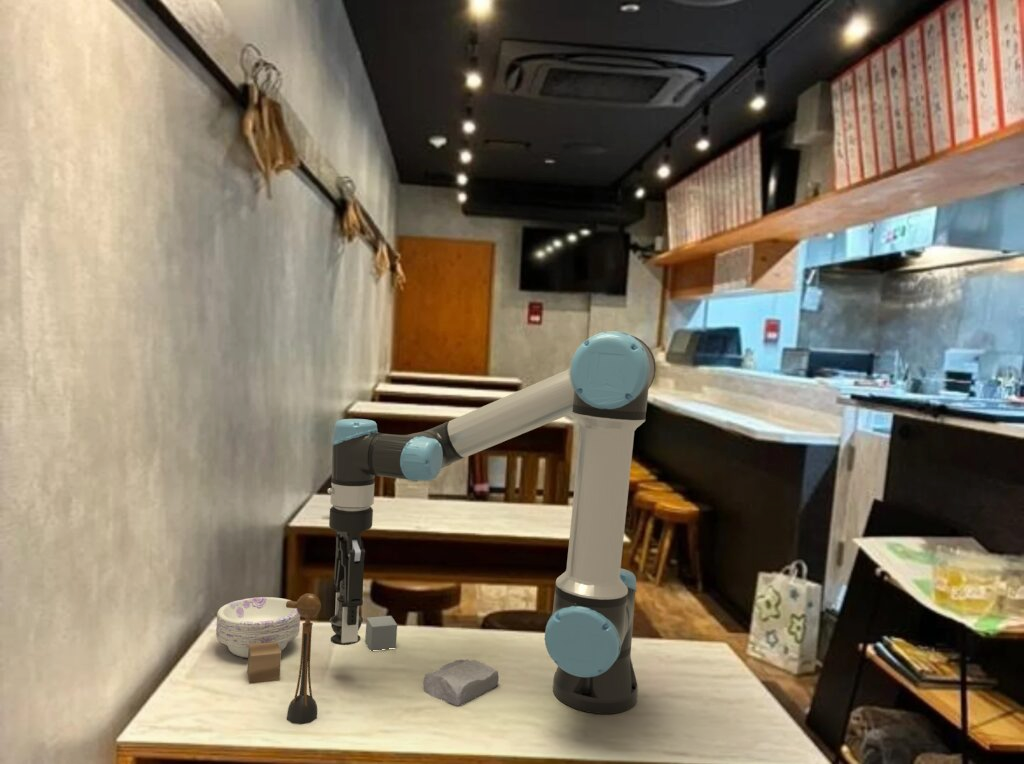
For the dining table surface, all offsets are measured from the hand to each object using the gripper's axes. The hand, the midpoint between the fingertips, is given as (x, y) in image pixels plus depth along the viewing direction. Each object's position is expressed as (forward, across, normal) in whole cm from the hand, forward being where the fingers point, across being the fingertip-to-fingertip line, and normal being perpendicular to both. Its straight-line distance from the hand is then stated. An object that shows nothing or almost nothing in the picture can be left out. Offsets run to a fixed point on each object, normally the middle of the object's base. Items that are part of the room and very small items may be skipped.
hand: (345, 634), depth 133 cm
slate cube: (+8, -12, +10) cm, 18 cm away
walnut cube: (+8, -4, -13) cm, 16 cm away
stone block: (+9, +9, +19) cm, 22 cm away
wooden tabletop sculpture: (+8, +12, -9) cm, 17 cm away
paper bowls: (+8, -16, -13) cm, 23 cm away
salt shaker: (+1, 0, 0) cm, 1 cm away
